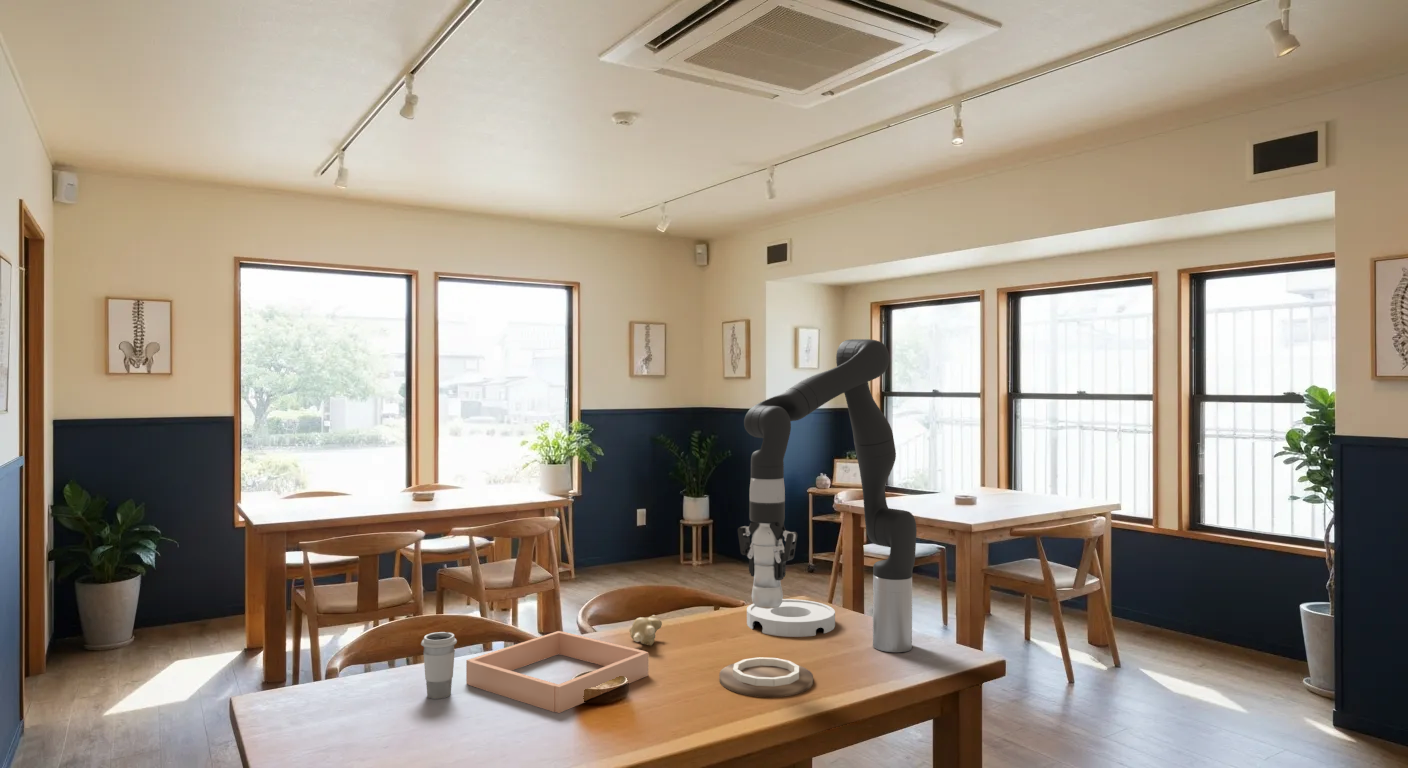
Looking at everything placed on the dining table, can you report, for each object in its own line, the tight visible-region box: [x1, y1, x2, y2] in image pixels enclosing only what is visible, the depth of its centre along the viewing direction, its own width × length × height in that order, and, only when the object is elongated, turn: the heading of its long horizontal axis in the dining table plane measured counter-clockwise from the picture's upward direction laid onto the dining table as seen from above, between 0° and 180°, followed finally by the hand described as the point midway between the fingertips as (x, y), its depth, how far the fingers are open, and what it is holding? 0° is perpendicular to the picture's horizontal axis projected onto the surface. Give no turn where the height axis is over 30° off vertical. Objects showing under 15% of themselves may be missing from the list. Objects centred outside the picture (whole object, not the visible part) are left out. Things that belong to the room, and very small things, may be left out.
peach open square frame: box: [465, 630, 649, 714], centre depth 191 cm, size 27×27×5 cm
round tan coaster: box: [718, 662, 814, 698], centre depth 191 cm, size 20×20×1 cm
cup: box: [420, 631, 458, 700], centre depth 182 cm, size 7×7×12 cm
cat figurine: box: [629, 614, 663, 646], centre depth 216 cm, size 8×7×12 cm
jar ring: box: [733, 656, 799, 686], centre depth 191 cm, size 14×14×2 cm
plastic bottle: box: [750, 523, 784, 609], centre depth 191 cm, size 6×7×20 cm
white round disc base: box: [746, 598, 836, 638], centre depth 235 cm, size 23×23×4 cm
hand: (766, 577), depth 191 cm, fingers closed on plastic bottle, 5 cm apart
